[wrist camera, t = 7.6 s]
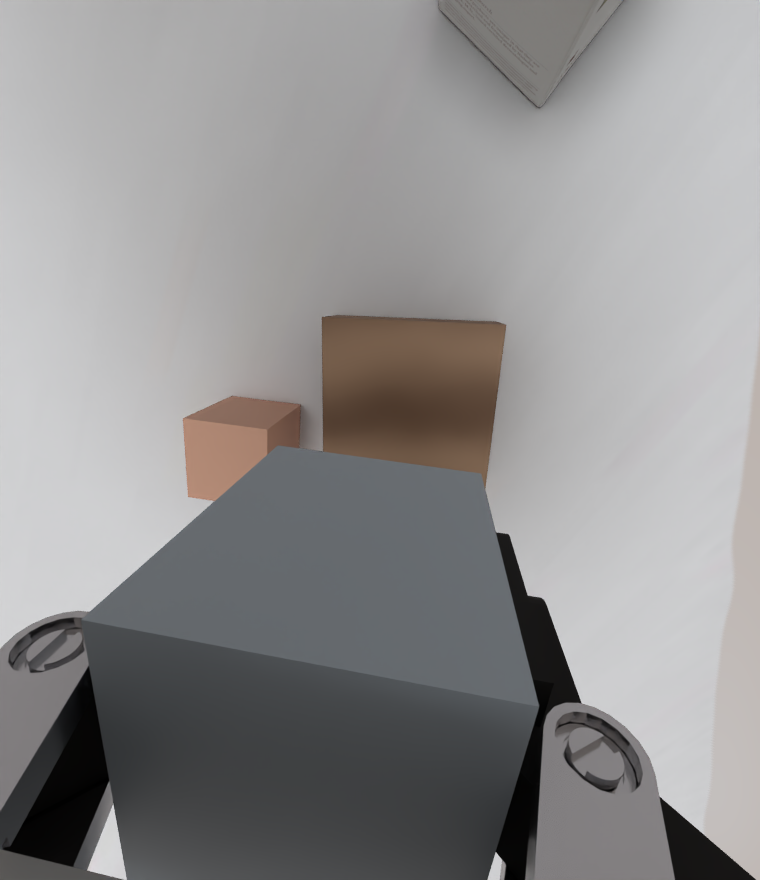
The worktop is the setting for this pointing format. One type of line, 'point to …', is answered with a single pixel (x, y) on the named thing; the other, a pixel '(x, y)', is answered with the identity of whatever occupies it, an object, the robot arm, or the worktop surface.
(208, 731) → the grey block
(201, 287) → the worktop surface
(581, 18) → the supplement box
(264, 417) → the terracotta block
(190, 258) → the worktop surface
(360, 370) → the walnut base
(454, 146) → the worktop surface
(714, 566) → the worktop surface
